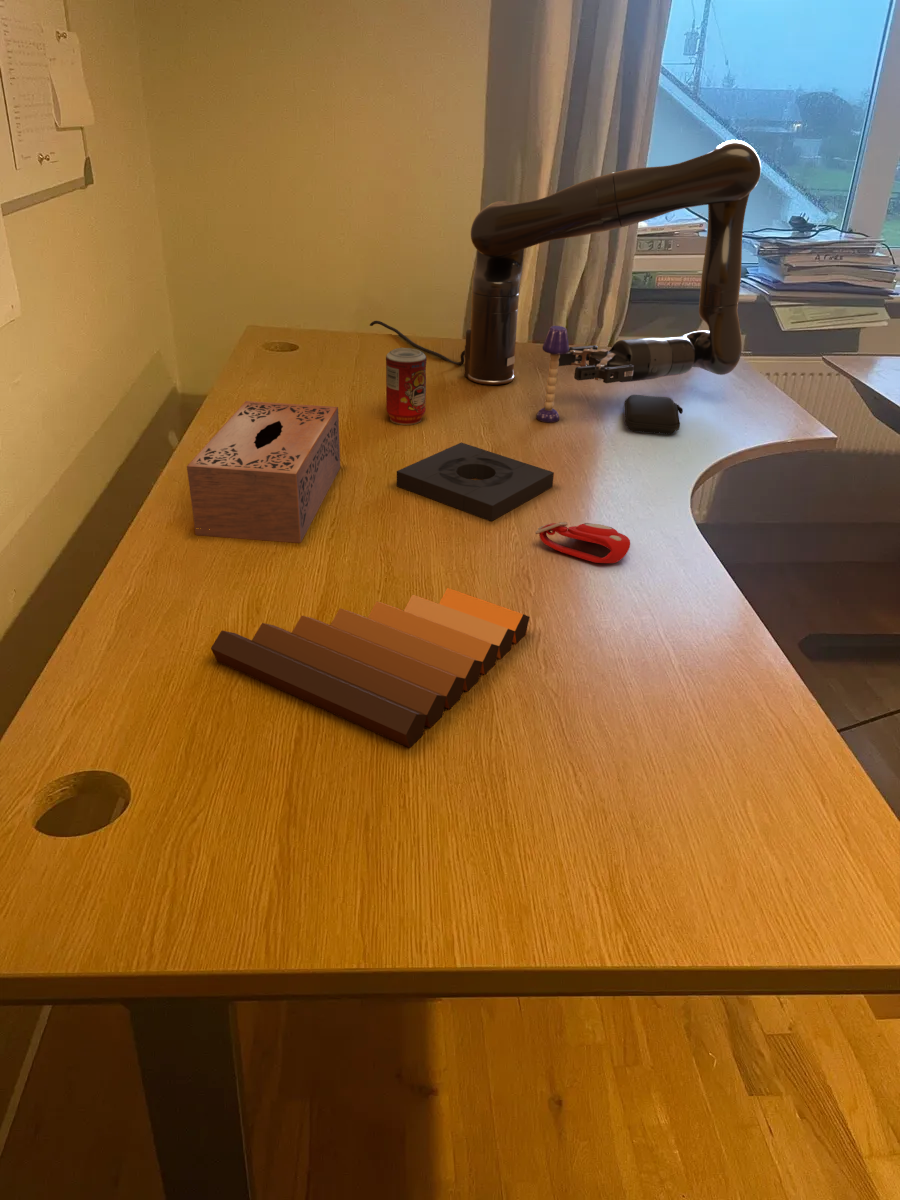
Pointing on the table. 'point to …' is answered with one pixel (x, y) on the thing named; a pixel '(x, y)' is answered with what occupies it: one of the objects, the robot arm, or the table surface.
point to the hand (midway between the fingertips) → (563, 367)
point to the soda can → (405, 385)
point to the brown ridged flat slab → (381, 659)
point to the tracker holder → (588, 540)
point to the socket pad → (485, 498)
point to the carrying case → (651, 414)
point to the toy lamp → (553, 370)
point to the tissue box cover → (265, 472)
